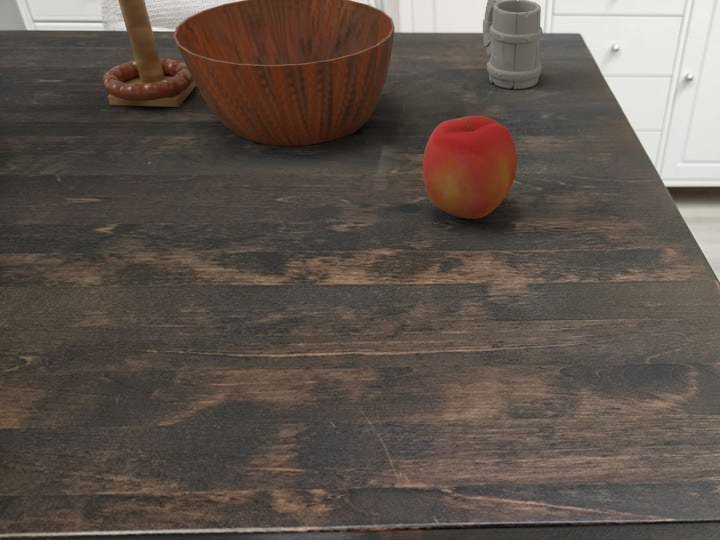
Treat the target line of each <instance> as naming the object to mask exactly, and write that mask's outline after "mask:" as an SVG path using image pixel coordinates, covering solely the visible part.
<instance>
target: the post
mask: <svg viewBox="0 0 720 540" xmlns="http://www.w3.org/2000/svg"><path fill="white" fill-rule="evenodd" d="M117 2H118V5H119V8H120V11H121V12H120V13H121V15H122V19H123V22H124V26H125V29H126V33H127V36H128V41H129V44H130V48H131V50H132V55H133V58H134V61H135V62H136V65H137V69H138V72H139V76H138V77H134V78H132V79H129V80H126V81H124V83H127V84H147V83H153V82H160V81H164V80H166V79H169V78H171V77H174V76H173V75H169V74H164V73H163V69H162V66H161V62H160V59H161V57H160V54H159V50H158V47H157V41H156V39H155V36H154V32H153V31H154V30H153V28H152V24H151V20H150V16H149V12H148V8H147V5H146V1H145V0H117ZM196 87H197V86H196V84H195V82H194V80H193V82H192V83H191V84H190V86H189V87H188V88H187V89H186V90H185V91H182V92H180V93H178V94H175V95H173V96H170V97H167V98H161V99H155V100H149V101H138V100H124V99H121V98H118V97H115V96H112V95H110V94H109V93H108V95H107V101H108V103H109V106H127V107H128V106H129V107H130V106H131V107H132V106H134V107H136V106H137V107H162V108H163V107H164V108H166V107H167V108H180V106H181V105H182V104H183V102H185V100H186V99H187V98H188V97H189V95H191V93H192V92H193V90H194V89H195V88H196Z"/></svg>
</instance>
